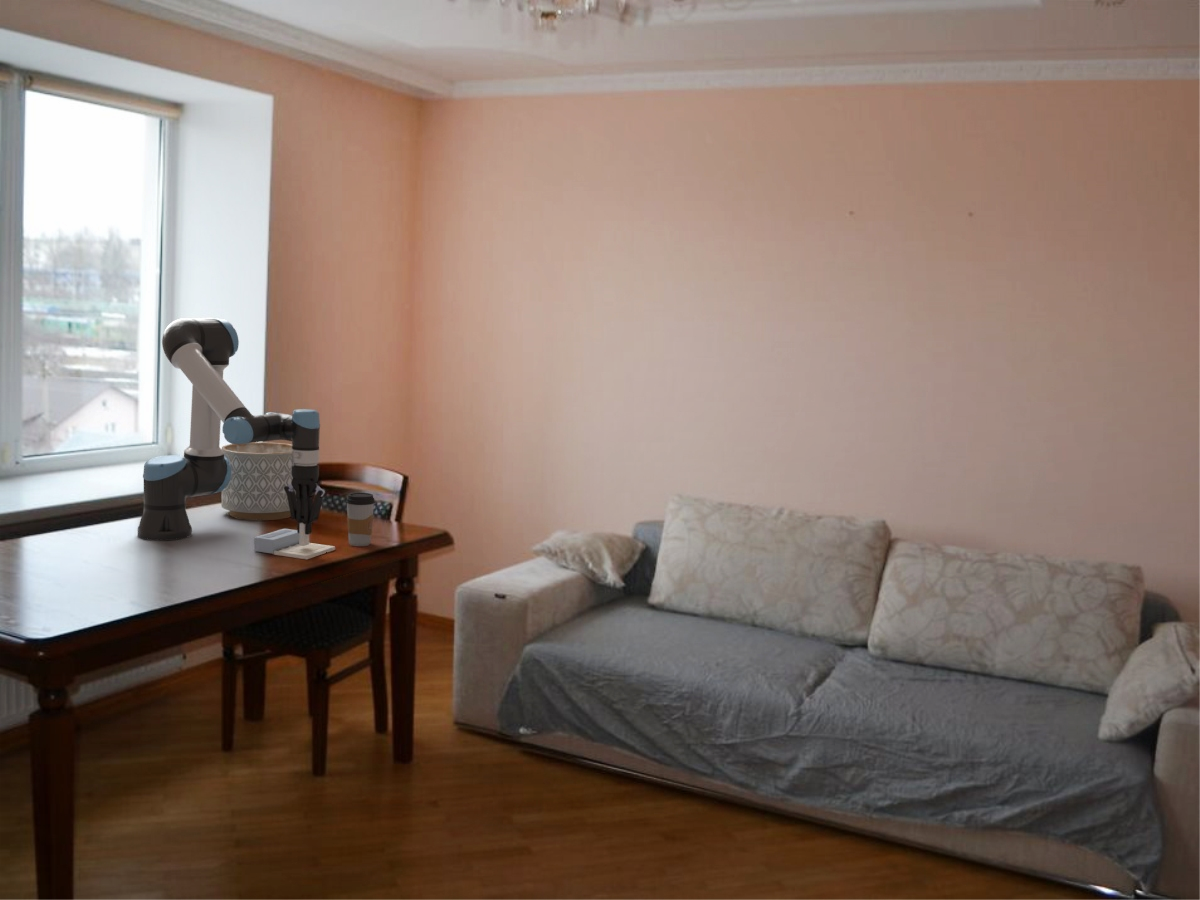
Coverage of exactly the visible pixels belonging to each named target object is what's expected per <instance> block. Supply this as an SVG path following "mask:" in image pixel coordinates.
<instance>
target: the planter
mask: <svg viewBox="0 0 1200 900" xmlns="http://www.w3.org/2000/svg"><path fill="white" fill-rule="evenodd" d="M221 449H222V450H223V451H224V457H226V458H227V459H228V461H229V465H231V471H232V473H231V479H230V482H229V484H228V485H227V487H226V488H225V489H224V490H222V491H221V508H223V509H224V510H226V511H229V516H230V517H232V518H235V519H239V520H244V521H245V520H246V521H274V520H283V519H287V518H291V514H290V509H289V503H288V498H287V494H286V492H285V490H284V487H285V486H288V485H290V484H291V481H292V479H293V477H292V465H293V464H294V463H293V462H292V443H283V442H270V441H262V442H253V443H247V444H231V443H229V444H225V445H223V446H221ZM294 491H295V490H294ZM295 494H296V492H295Z"/></svg>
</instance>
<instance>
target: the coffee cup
mask: <svg viewBox="0 0 1200 900" xmlns="http://www.w3.org/2000/svg"><path fill="white" fill-rule="evenodd" d="M375 502H376V501H375V497H374V494H373V493H369V492H351V493H348V494H347V497H346V501H345V503H346V509H347V512H346V513H347V514H346V515H347V533H348V543H349V545H350V546H353V547H366V546H370V543H371V540H372V531H373V521H374V506H375Z"/></svg>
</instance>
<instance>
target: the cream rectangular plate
mask: <svg viewBox="0 0 1200 900" xmlns="http://www.w3.org/2000/svg"><path fill="white" fill-rule="evenodd" d="M335 550H336V546H334V545H328V544H319V543H314V542H313V543H312V542H309V545H305V546H300V545H299V543H298V544H294V545H291V546H288V547H285V548H282V549H278V550H276V551H274V554H273V555H275V556H281V557H282V556H283V557H288V558H295V559H302V560H310V559H312V558H315V557H317V556H320V555H325V554H326V552H327V553H330V552H333V551H335Z"/></svg>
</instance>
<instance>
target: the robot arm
mask: <svg viewBox="0 0 1200 900" xmlns="http://www.w3.org/2000/svg"><path fill="white" fill-rule="evenodd" d="M161 343H162V344H161V345H162V349H163V353H164V354H165V357H166V358H167V360H168V361H169V362H170V364H171V365H172V366H173V367H174V368H175V369H179V370H180V371H181V372H182V373H183V374H184V375H185V377H186V378H187V380H189V382H190V383H191V385H192V390H191V410H190V411H191V413H190V432H189V433H190V435H189V446H187V447H186V448H185V449H184V450H183V455H180V454H179V455H178V454H169V455H160V456H156V457H153V458H150V459H148V460H147V461H146V462H145V463H144V465H143V474H142V479H143V511H142V515H141V518H140V521H139V524H138V526H137V537H138V538H140V539H144V540H150V541H173V540H175V541H176V540H181V539H186V538H188V537H191V536H192V534H193V533H192V532H193V531H192V530H193V529H192V525H191V523H190V519H189V516H188V512H187V510H186V507H187V506H186V499H187V498H195V497H199V496H210V495H214V494H217V493H222V490H224V489H225V488H226V487H227V485H228V484H229V482H230V479H231V473H232V471H231V465H229V461H228V459H227V458H226V457H224V451H223V450H222V447H220V443H221V442H220V441H221V440H220V438H221V423H223V424H222V433H223V435H224V436H223V437H224V439H225V441H226V442H228V443H229V444H247V443H253V442H270V441H271V442H272V441H288V442H291V444H292V462H293V463H294V464H293V465H292V477H293V479H292V481H291V484H290V485H288V486H285V487H284V490H285V492H286V494H287V498H288V503H289V509H290V514H291V517H290V518H291V520H292V521H296V523H297V526H296V527H297V529H296V530H297V532H298V533H299V545H300V546H305V545H309V543H310V535H311V534H312V530H313V529H312V527H313V525H312V524H313V522H317V521H318V520H319V516H320V512H321V509H322V508H321V507H322V504H323V499H324V497H325V495H326V494H327V490H326V489H325V488H321V487H320V482H319V477H320V466H319V463H320V428H321V422H320V421H321V420H320V413H319V411H318V410H316V409H309V408H301V409H300V408H298V409H294V410H293V411H292V414H287V413H282V412H279V411H276V412H275V411H274V412H273V411H272V412H271V411H269V412H266V413H264V414H258V415H253V414H252V413H251V412H250V410H249V409H248V408H247V407H246V406H245V404H244V403H243V402H242V401H241V400H240V398H239V396H237V394H236V393H235V392H234V390H232V387H230V386H229V385H228V384H227V382H226V381H225V379H224V370H225V369H226V368H227V367H228V366H229V365H230V358H231V357H233V356H235V355H236V353H237V352H238V350H239V343H240V341H239V335H238V333H237V330H236V329H235V328H234V326H233V324H232V323H231V322H230V321H228V320H226V319H224V318H223V319H222V318H216V317H215V318H214V317H206V318H205V317H202V318H201V317H198V318H197V317H196V318H195V317H193V318H192V317H191V318H185V317H183V318H179V319H176V320H173V321H172V322H171V323H170V324H168V325H167V327H166V328H165V330H164V331H163V334H162V339H161ZM294 490H295V491H294ZM295 492H296V494H295Z"/></svg>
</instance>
